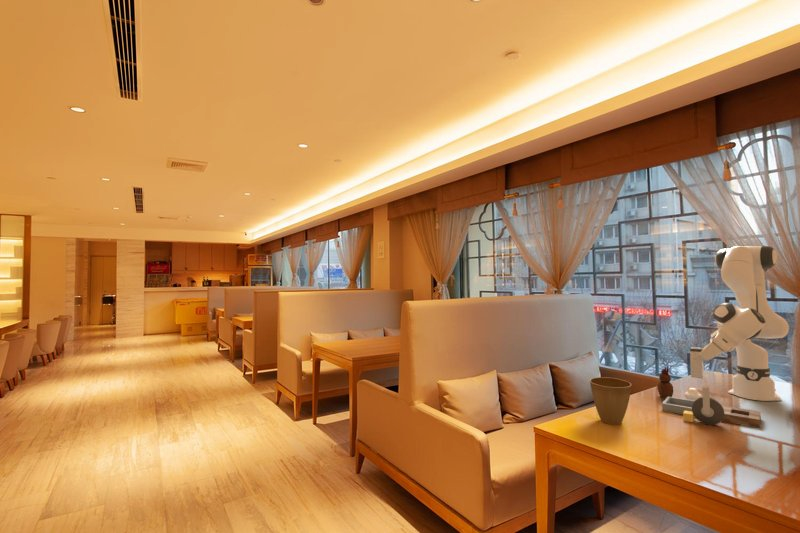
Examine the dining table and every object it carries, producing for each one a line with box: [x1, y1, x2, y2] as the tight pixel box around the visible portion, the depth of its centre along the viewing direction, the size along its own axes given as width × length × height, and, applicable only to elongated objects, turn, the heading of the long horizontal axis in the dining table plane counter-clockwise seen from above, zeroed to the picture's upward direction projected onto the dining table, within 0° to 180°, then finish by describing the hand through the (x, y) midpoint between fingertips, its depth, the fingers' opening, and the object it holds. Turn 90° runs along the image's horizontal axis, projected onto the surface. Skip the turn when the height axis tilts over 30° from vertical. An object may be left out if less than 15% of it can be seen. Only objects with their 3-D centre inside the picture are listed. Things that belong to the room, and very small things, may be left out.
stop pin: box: [689, 346, 705, 379], centre depth 171 cm, size 4×4×12 cm
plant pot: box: [589, 376, 632, 426], centre depth 162 cm, size 15×15×16 cm
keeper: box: [721, 405, 762, 428], centre depth 162 cm, size 12×12×3 cm
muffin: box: [684, 387, 702, 401], centre depth 184 cm, size 6×6×7 cm
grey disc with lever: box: [682, 386, 724, 426], centre depth 159 cm, size 7×13×15 cm, turn 47°
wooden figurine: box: [657, 366, 674, 399], centre depth 193 cm, size 7×6×15 cm
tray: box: [661, 396, 695, 415], centre depth 175 cm, size 13×13×3 cm
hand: (694, 361), depth 172 cm, fingers closed on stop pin, 4 cm apart
